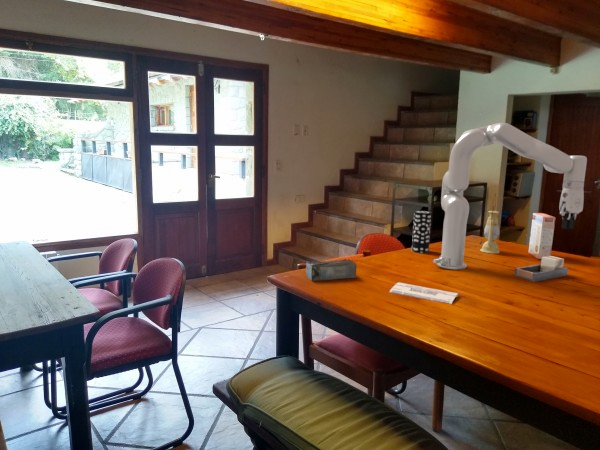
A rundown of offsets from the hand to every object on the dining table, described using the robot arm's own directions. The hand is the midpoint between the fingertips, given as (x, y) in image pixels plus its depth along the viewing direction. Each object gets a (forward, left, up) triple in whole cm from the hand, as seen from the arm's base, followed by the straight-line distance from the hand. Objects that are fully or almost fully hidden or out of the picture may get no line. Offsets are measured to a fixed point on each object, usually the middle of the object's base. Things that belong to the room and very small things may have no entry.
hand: (567, 228), depth 194 cm
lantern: (+3, +40, -19) cm, 45 cm away
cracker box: (+17, +22, -19) cm, 34 cm away
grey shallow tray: (-15, 0, -19) cm, 24 cm away
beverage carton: (-96, +36, -20) cm, 104 cm away
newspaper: (-77, +4, -20) cm, 80 cm away
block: (-8, 0, -19) cm, 21 cm away
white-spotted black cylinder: (-30, +55, -19) cm, 66 cm away
